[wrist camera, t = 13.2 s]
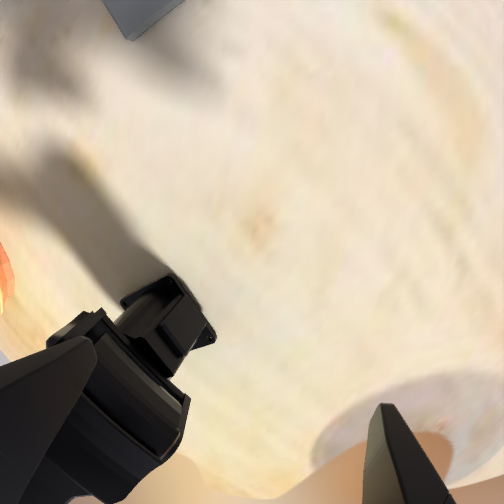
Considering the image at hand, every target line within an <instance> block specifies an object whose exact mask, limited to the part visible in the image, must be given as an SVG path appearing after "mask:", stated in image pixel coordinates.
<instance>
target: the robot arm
mask: <svg viewBox="0 0 504 504" xmlns="http://www.w3.org/2000/svg"><path fill="white" fill-rule="evenodd" d="M169 279H171V280H172V282H170V281H169ZM126 303H127V304H126ZM120 304H121V306H122V307H123V309H124V310H125V311H124V312H123V313H122V314H121V315H120V316H119V317H118V318H117V319H116V320H115V321H114V322H112V321H111V320H110V318H109V317H108V316H107V315H106V314H107V313H106V312H105V311H104V310H103V308H102V307H101V308H100V309H99V310H98V311H97V312H95V313H94V312H93V311H92V312H91V313H88V312H85V311H83V312H82V313H80V314H79V315H78V316H77V317H76V318H75V319H74V320H72V321H71V322H70V323H69V324H67V325H66V326H65V327H63V328H62V329H60V330H59V331H57V332H56V333H54V334H53V335H52V336H51V337H50V338H49V339H48V340H47V341H46V349H45V350H42V351H40V352H37V353H34V354H32V355H29V356H26V357H24V358H21V359H18V360H16V361H13V362H11V363H8V364H6V365H3V366H0V504H68V503H69V502H70V501H71V500H72V499H74V498H75V497H83V496H92V495H93V496H94V497H96V498H97V499H99V500H100V501H101V502H103V503H104V504H114V503H117V502H119V501H122V500H123V499H125V498H126V497H127V495H128V494H129V493H130V492H131V491H132V490H133V488H134V487H135V486H136V485H137V484H138V483H139V482H140V481H141V480H142V479H143V478H144V477H145V476H146V475H147V474H149V473H150V472H151V471H152V470H154V469H155V468H157V467H158V466H160V465H162V464H163V463H164V462H166V461H167V460H168V459H169V458H170V457H171V456H172V455H173V454H174V453H175V451H176V450H177V448H178V447H179V445H180V443H181V441H182V438H183V434H184V429H185V424H186V420H187V415H188V411H189V406H190V402H191V398H190V397H189V396H188V395H187V394H185V393H183V392H181V391H180V390H179V389H178V388H177V387H176V386H175V385H174V384H173V383H172V382H171V381H170V379H171V378H172V377H173V376H174V375H175V373H176V371H177V370H178V368H179V367H180V365H181V363H182V362H183V360H184V358H185V357H186V356H187V355H188V353H189V352H190V351H191V350H194V349H197V348H200V347H204V346H207V345H210V344H213V343H215V341H216V339H217V335H216V333H215V332H214V331H213V329H212V328H211V327H210V325H209V324H208V322H207V321H206V319H205V318H204V316H203V315H202V314H201V312H200V311H199V309H198V308H197V306H196V305H195V304H194V302H193V301H192V299H191V298H190V296H189V295H188V294H187V292H186V291H185V289H184V288H183V286H182V285H181V283H180V282H179V280H178V279H177V277H176V276H175V275H174V274H172V273H168V274H166V275H164V276H162V277H161V278H159V279H157V280H155V281H153V282H151V283H149V284H147V285H146V286H144V287H142V288H140V289H138V290H136V291H134V292H133V293H131V294H129V295H127V296H125V297H124V298H123V299H121V301H120ZM209 336H210V337H211V338H210V337H209ZM448 493H449V491H448V489H447V487H446V486H445V484H444V482H443V481H442V480H441V478H440V476H439V474H438V473H437V471H436V469H435V468H434V466H433V465H432V463H431V461H430V460H429V458H428V457H427V455H426V453H425V452H424V450H423V449H422V448H421V445H420V444H419V442H418V441H417V439H416V438H415V436H414V434H413V433H412V431H411V430H410V428H409V427H408V425H407V423H406V422H405V420H404V419H403V417H402V416H401V414H400V413H399V411H398V410H397V408H396V407H395V405H394V404H392V403H380V404H379V405H378V406H377V408H376V410H375V412H374V414H373V416H372V418H371V420H370V424H369V430H368V439H367V448H366V456H365V463H364V471H363V497H362V498H363V499H362V504H456V502H455V500H454V499H453V497H452V495H451V494H448Z"/></svg>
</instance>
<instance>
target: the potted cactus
mask: <svg viewBox="0 0 504 504" xmlns="http://www.w3.org/2000/svg"><path fill="white" fill-rule="evenodd" d="M13 292H14V276H13V273H12V269H11V265H10V262H9V259H8V257H7V255H6V253H5V252H4V250H3V247H2V245H1V244H0V315H1V314H2V311H3V308H4V304H5V300H6V297H9V296H10V295H11V294H12V293H13Z"/></svg>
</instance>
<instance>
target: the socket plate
mask: <svg viewBox="0 0 504 504" xmlns="http://www.w3.org/2000/svg"><path fill="white" fill-rule="evenodd" d="M102 1H103V3H104V4H105V6H106V8H107V9H108V11H109V13H110V14H111V16H112V18H113V19H114V21H115V22H116V24H117V26H118V27H119V29H120V31H121V32H122V34H123V36H124V37H125V39H128V40H131V41H134V40H135V39H137V38H138V37H139V36H140V35H141V34H142V33H144V32H145V31H146V30H147V29H148V28H150V27H151V26H152V25H153V24H154V23H156V22H157V21H158V20H159V19H161V18H162V17H163V16H165V15H166V14H167V13H169V12H170V11H171V10H173V9H174V8H175V7H177V6H178V5H179V4H181V3H182V2H184V1H185V0H102Z"/></svg>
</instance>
